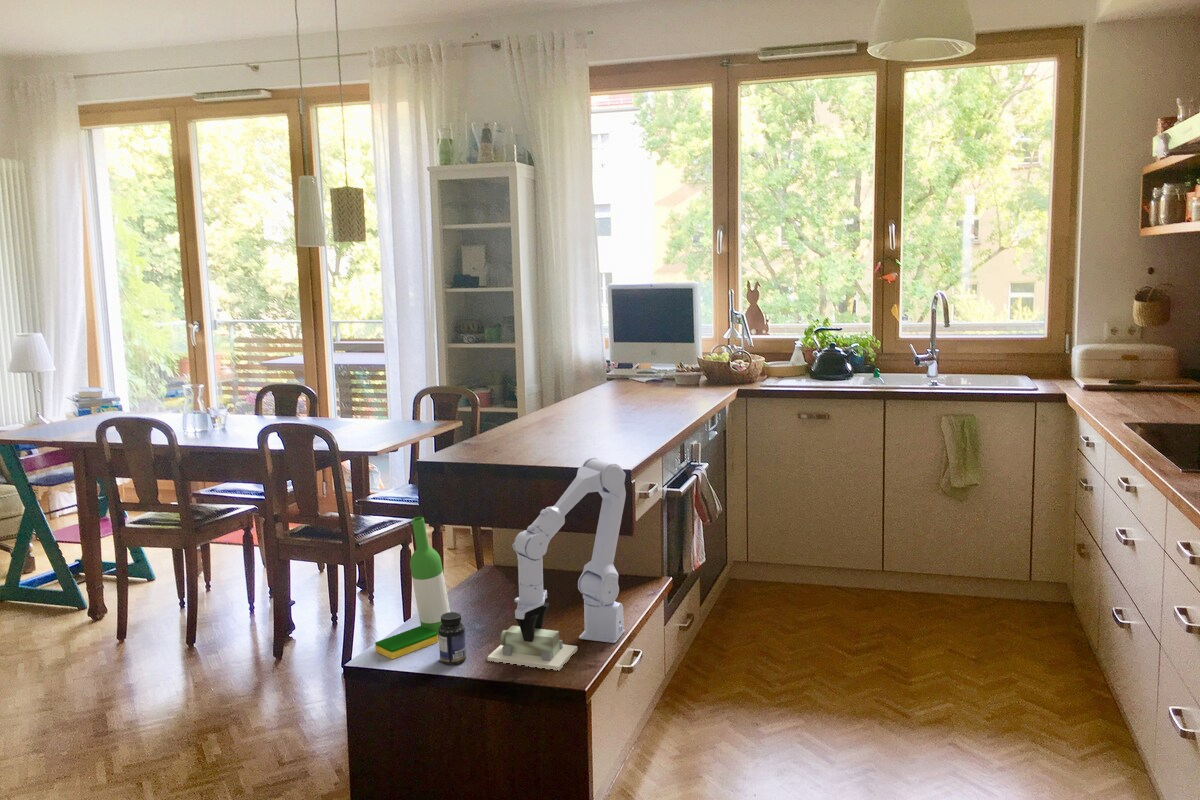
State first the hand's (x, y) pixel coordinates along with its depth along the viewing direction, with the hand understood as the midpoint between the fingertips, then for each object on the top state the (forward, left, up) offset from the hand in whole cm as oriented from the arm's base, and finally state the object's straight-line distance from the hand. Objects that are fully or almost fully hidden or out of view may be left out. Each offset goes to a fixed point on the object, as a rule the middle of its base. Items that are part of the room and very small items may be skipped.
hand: (532, 637), depth 231 cm
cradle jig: (0, 0, -4) cm, 4 cm away
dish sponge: (+31, +4, -5) cm, 32 cm away
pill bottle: (+17, +8, -5) cm, 19 cm away
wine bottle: (+29, -7, -4) cm, 30 cm away
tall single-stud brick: (0, 0, -3) cm, 3 cm away
